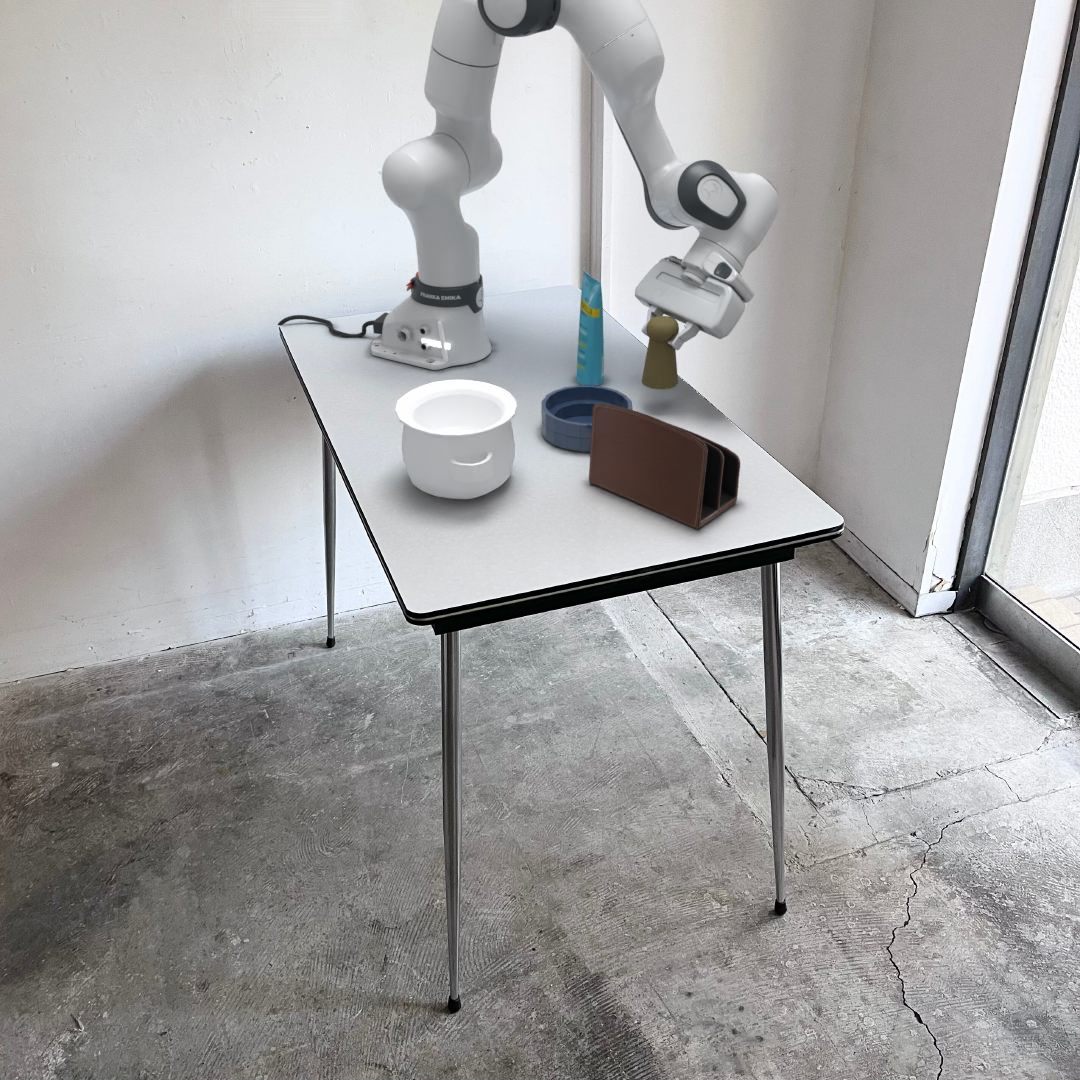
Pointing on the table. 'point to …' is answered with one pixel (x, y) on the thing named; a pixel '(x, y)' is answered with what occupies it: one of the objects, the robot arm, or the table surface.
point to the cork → (660, 354)
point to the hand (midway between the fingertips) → (659, 340)
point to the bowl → (576, 414)
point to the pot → (457, 437)
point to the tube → (590, 333)
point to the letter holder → (661, 465)
